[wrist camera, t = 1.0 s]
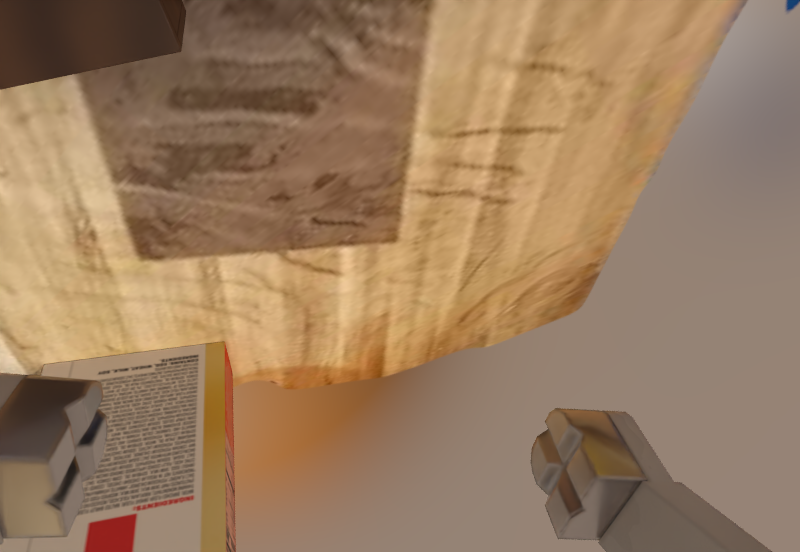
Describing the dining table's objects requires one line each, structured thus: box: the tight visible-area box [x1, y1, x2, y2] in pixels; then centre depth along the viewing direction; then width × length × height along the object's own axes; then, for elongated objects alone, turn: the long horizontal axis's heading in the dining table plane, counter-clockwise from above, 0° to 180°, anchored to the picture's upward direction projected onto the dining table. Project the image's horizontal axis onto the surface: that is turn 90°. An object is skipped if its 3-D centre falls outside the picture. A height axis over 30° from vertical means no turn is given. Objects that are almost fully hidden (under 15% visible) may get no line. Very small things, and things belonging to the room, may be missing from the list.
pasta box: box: [0, 342, 236, 552], centre depth 63 cm, size 23×8×30 cm, turn 84°
